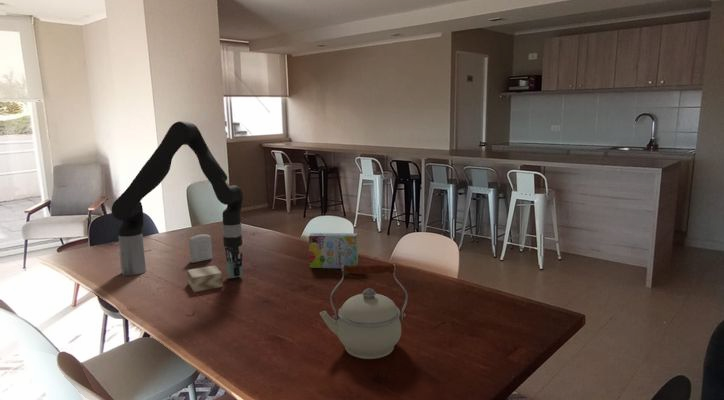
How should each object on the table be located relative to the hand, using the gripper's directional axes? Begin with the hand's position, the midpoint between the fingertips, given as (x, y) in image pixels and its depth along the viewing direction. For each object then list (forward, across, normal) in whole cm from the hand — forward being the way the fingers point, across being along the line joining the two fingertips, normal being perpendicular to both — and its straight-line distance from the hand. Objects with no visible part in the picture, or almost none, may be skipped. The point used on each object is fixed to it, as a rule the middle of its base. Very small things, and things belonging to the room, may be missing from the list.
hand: (234, 273), depth 191 cm
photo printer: (+2, -34, -4) cm, 34 cm away
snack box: (+2, +12, +41) cm, 43 cm away
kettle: (+2, +80, +9) cm, 81 cm away
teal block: (+1, 0, 0) cm, 1 cm away
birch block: (+2, +1, -12) cm, 13 cm away
